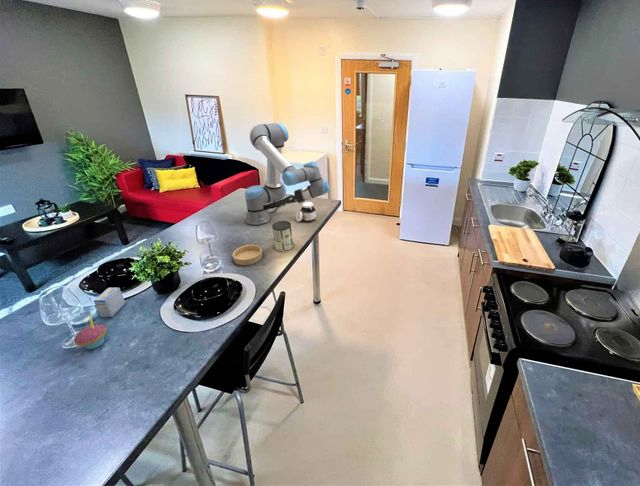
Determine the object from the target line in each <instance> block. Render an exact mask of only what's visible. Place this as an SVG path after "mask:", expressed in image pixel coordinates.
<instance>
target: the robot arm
mask: <svg viewBox="0 0 640 486" xmlns="http://www.w3.org/2000/svg"><path fill="white" fill-rule="evenodd" d="M286 127H287V126H285V125H284V124H283V123H281V122H273V123H262V124H261V123H260V124H257V125H255V126H253V127H252V128H251V130H250V133H249V140H250V143H251V145H252V146H253V148H255V149H256V151H260V152H261V154H262V155H263V156H264V157H265V158H266V163H267V164H266V180H264V185H263V186H262V185H251V186H249V187H247V188H246V189H245V191H244V199H245V204H246V209H247V212H246V217H245V222H246V224H247V225H250V226H260V225H261V226H262V225H265V224H267V223H269V222H270V221H271V216H270V214H273V213H275V212H276V211H277V210H278V209H279V208H281V206H283V207H284V206H286V204H291V203H295V202H297V203H298V204H301V203H305V202H308V201H312V199H315V198H318V197H321V196H323V195H326V194H329V193H330V191H331V188H330V185H329V183H328V180H327V179H323V177H322V173H321V171H320V168H319V166H318V163H317V162H316V161H314V160H313V161H309V162H306V163H303V167H301V168H300V167H299V168H296V167H295V166H294V165H293V164H292V163H291V162H290V161H289V160H288V159H287V158H286V157H285V156H284V155H283V154H282V149H283V148H284V147H285V143H286V142H288V140H289V137H290V136H289V132H288V129H287V128H286ZM305 182H309V185H306V186H304V187H301V188H298V189H295V190H294V192H293V194H291V195H288V196H286V194H287V189H286V186H287V187H290V186H296V185H298V184H302V183H305ZM270 209H271V210H272V209H274V210H273V211H269V212H268V210H270Z"/></svg>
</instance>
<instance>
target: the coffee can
mask: <svg viewBox="0 0 640 486" xmlns="http://www.w3.org/2000/svg"><path fill="white" fill-rule="evenodd" d="M271 228H272V236H273V242H274V249H275V250H276V251H279V252H285V251H289V250H291V249H292V248H293V247H294V243H293V242H294V241H293V234H292V233H293V232H292V223H291V222H290V221H288V220H279V221H276V222H273V223H272V224H271Z"/></svg>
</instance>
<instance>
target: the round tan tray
mask: <svg viewBox="0 0 640 486" xmlns="http://www.w3.org/2000/svg"><path fill="white" fill-rule="evenodd" d="M231 256H232V260H233V262H234V263H235V264H236V265H238V266H250V265H253V264H256V263H258V262H259V261H261V260H262V258H263V249H262V247H261V246H259V245H256V244H246V245H241V246H239V247H237V248H236V249H235V250H234V251H233V252H232V254H231Z"/></svg>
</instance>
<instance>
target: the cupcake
mask: <svg viewBox="0 0 640 486" xmlns="http://www.w3.org/2000/svg"><path fill="white" fill-rule="evenodd" d="M88 319H89V323H90V324H89V325H88V326H86V327H84V328H83V329H81V330H79V332H77V333H76V335H75V336H74V338H73V343H74V345H76V346H79V347H84V348H86V349H87V350H94V349H97V348H99V347H101V346H102V345H103V344H104V342H105V336H106V335H107V332H108V329H107V326H106V325H105V324H102V323H97V324H96V323H95V324H94V321H93V316H92V315H91V314H90V315H89V318H88Z"/></svg>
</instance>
